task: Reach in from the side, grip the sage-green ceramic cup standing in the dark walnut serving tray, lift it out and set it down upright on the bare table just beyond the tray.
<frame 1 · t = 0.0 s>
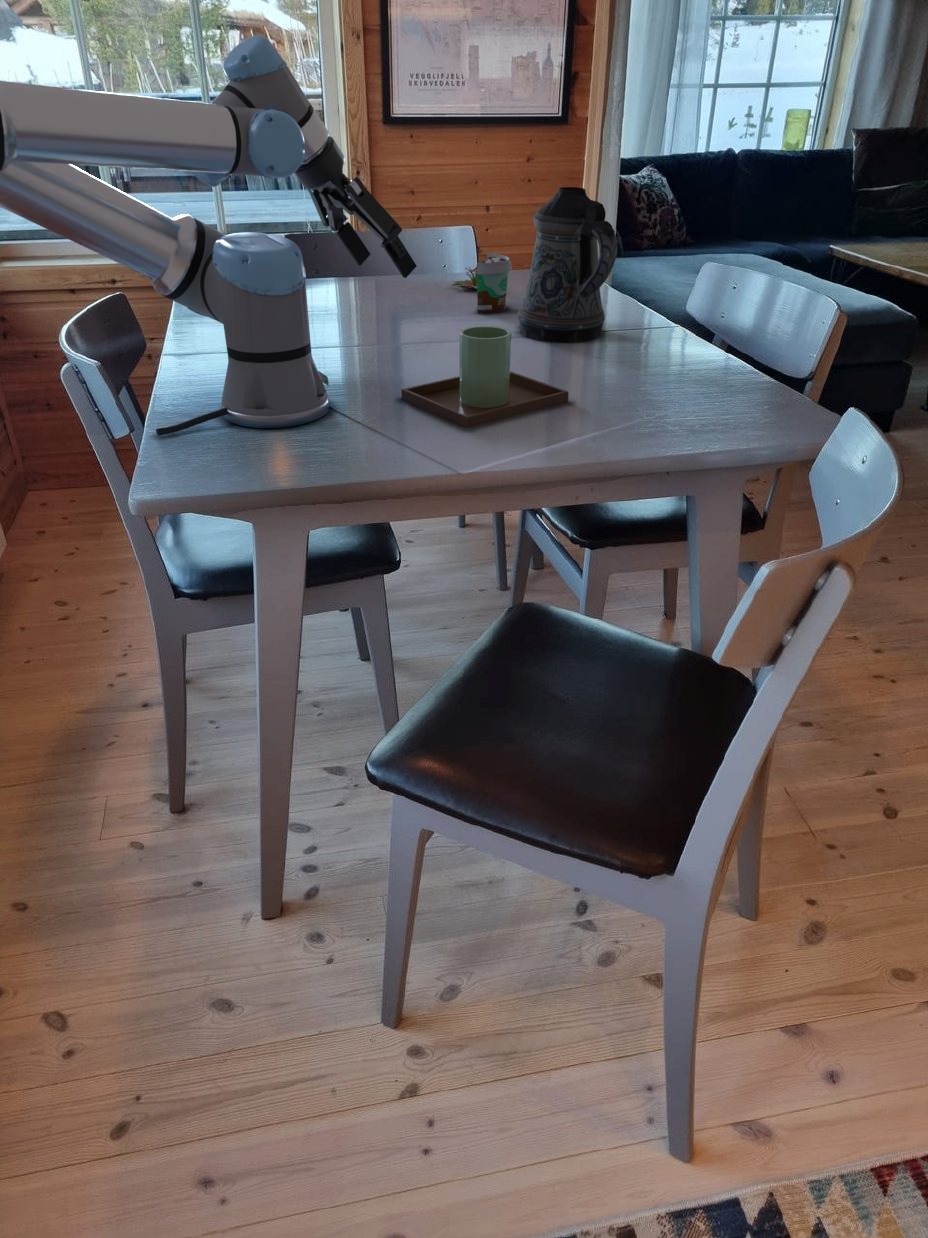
hand: (386, 265, 143), 15 cm above the table, tool tilted 35°, fingers open, 13 cm apart
beer stein: (567, 333, 167), on the table
cup: (484, 399, 131), resting on tray
tray: (484, 401, 131), on the table
food container: (495, 309, 184), on the table
lily flower: (474, 288, 203), on the table
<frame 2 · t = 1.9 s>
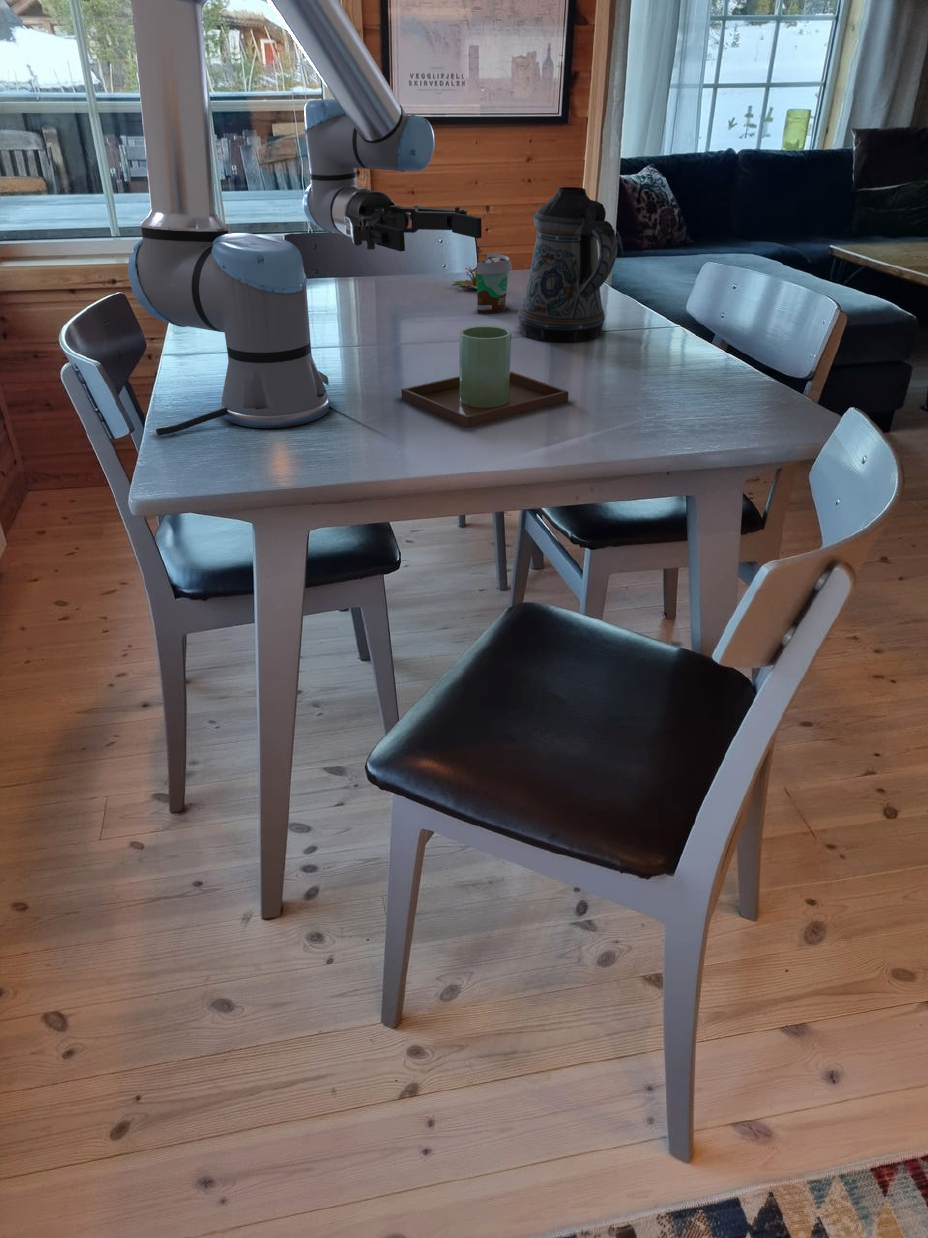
hand: (442, 234, 125), 22 cm above the table, tool horizontal, fingers open, 13 cm apart
nothing on the table moved.
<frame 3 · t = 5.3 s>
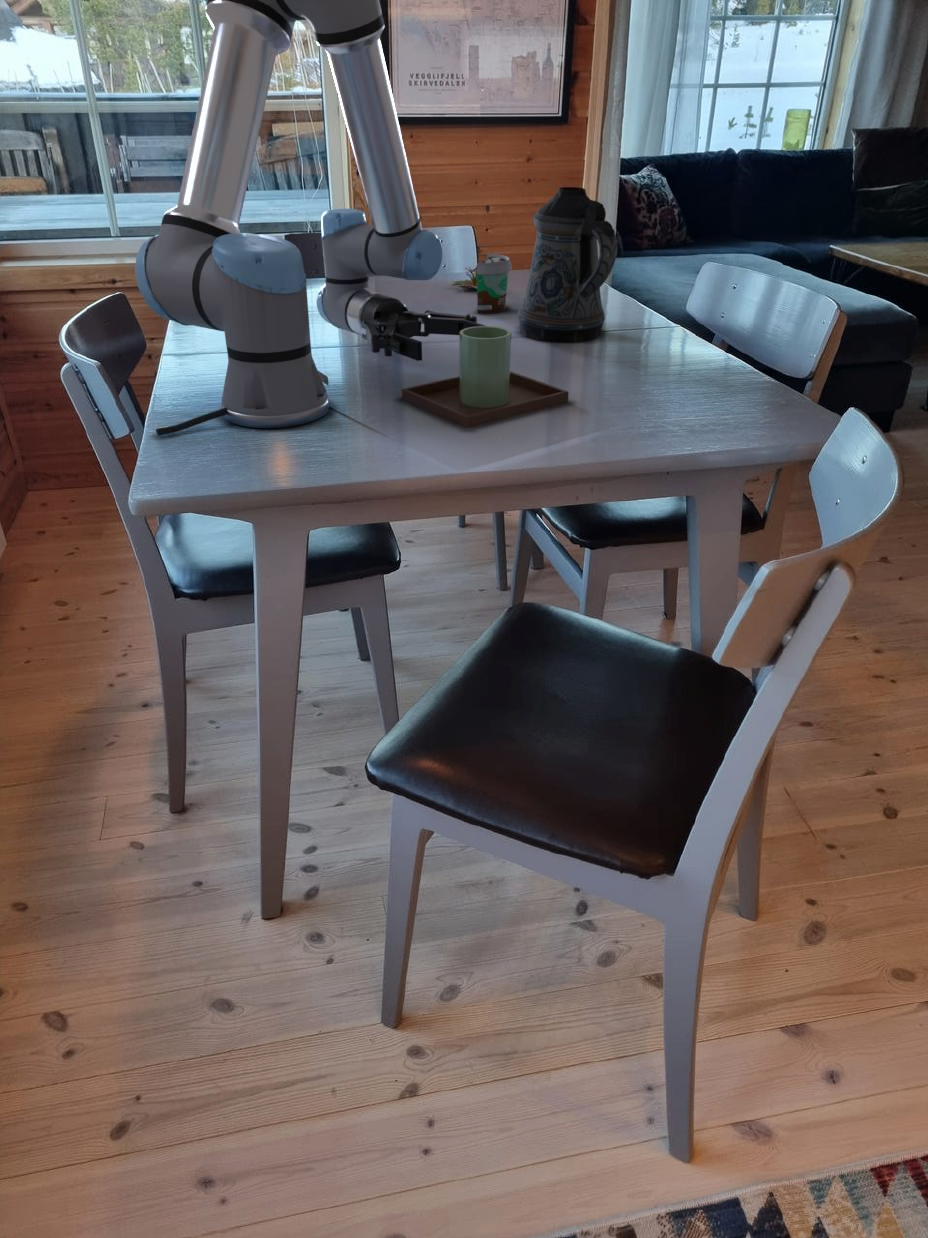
hand: (456, 343, 133), 7 cm above the table, tool horizontal, fingers open, 13 cm apart
nothing on the table moved.
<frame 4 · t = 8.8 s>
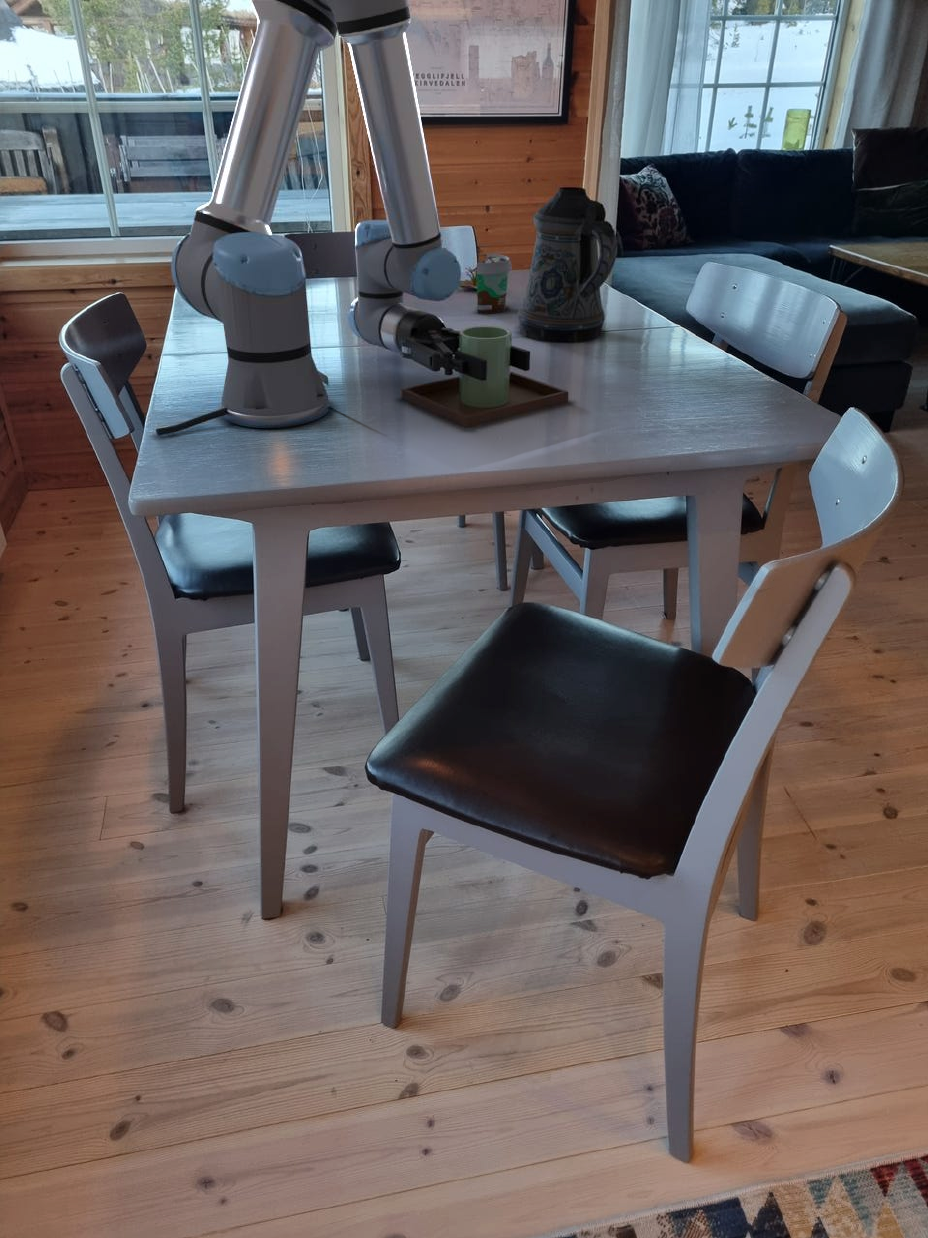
hand: (506, 365, 125), 6 cm above the table, tool horizontal, fingers closed on cup, 7 cm apart
cup: (484, 399, 131), resting on tray, touching gripper
everything else where it was.
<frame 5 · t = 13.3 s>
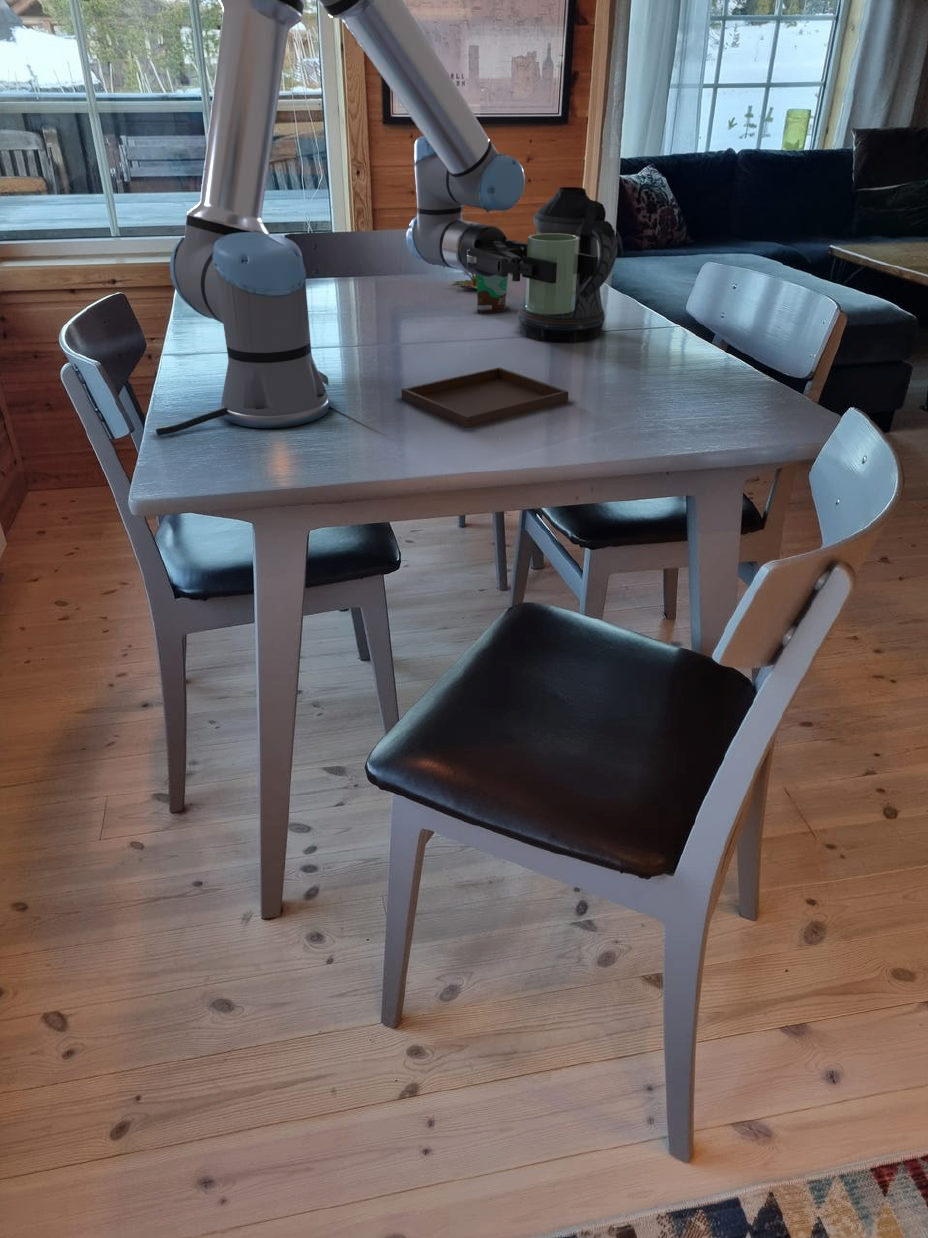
hand: (575, 269, 125), 18 cm above the table, tool horizontal, fingers closed on cup, 7 cm apart
cup: (550, 308, 132), point 12 cm above the table, touching gripper
everything else where it was.
when the fingers open (6 cm above the table, at t = 17.9 s): cup stays where it is, on the table.
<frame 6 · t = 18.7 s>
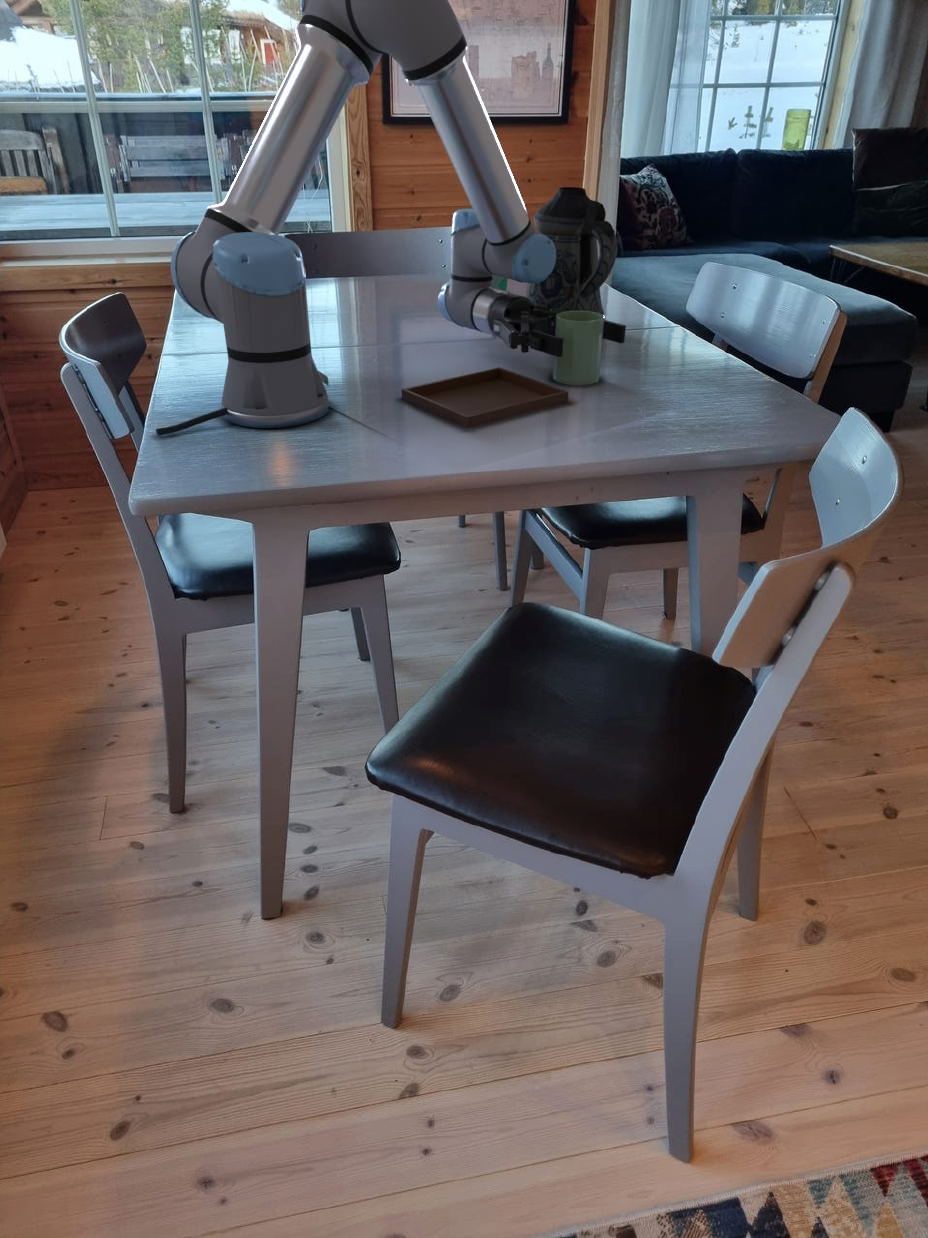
hand: (593, 340, 136), 7 cm above the table, tool horizontal, fingers open, 13 cm apart
cup: (575, 379, 141), on the table
everything else where it was.
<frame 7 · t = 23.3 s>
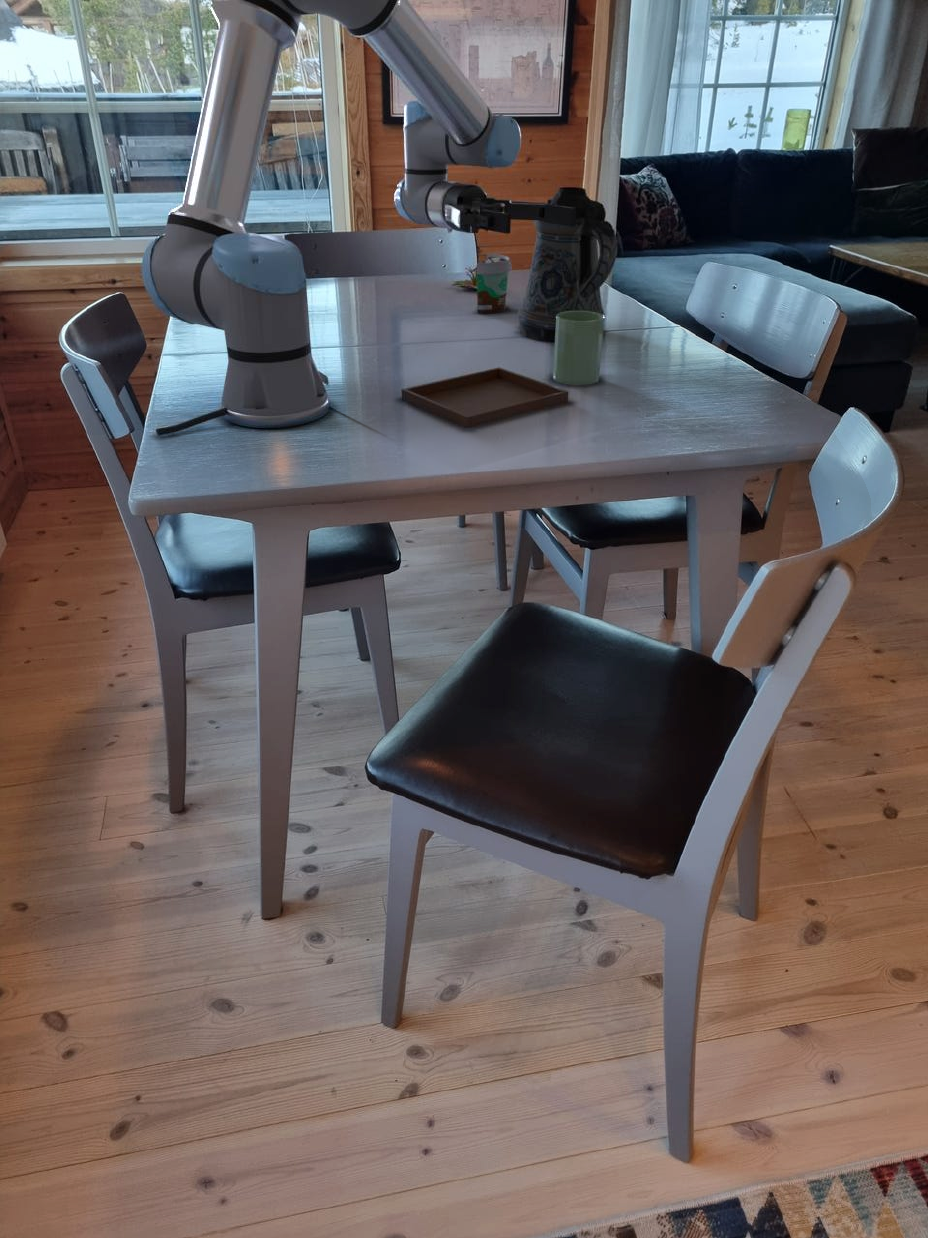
hand: (542, 220, 136), 23 cm above the table, tool horizontal, fingers open, 13 cm apart
nothing on the table moved.
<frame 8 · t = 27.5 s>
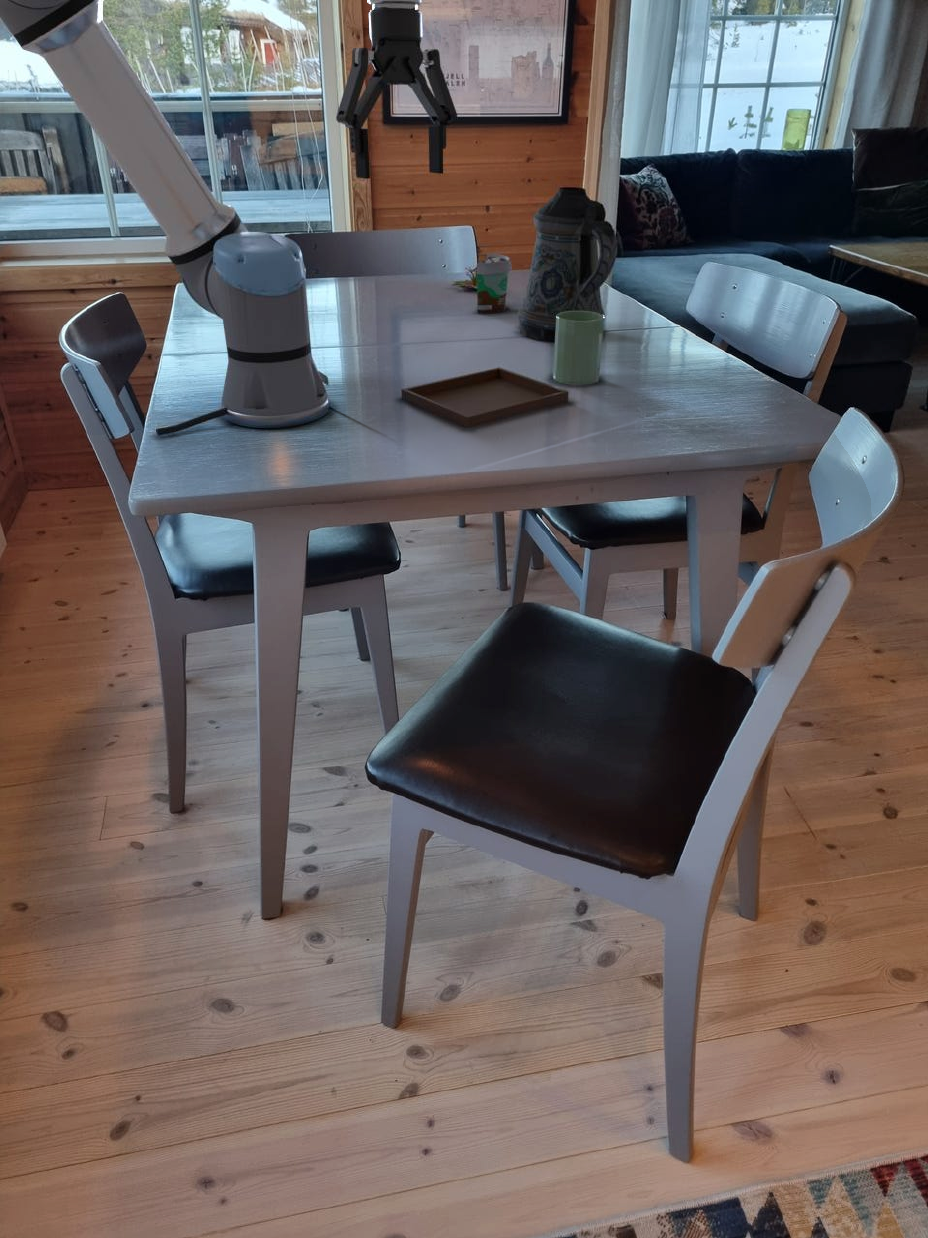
hand: (400, 175, 135), 29 cm above the table, tool pointing down, fingers open, 13 cm apart
nothing on the table moved.
at the end: cup inside the target area (0.0 cm from its centre), on the table; cup touching table; cup tilted 0° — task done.
